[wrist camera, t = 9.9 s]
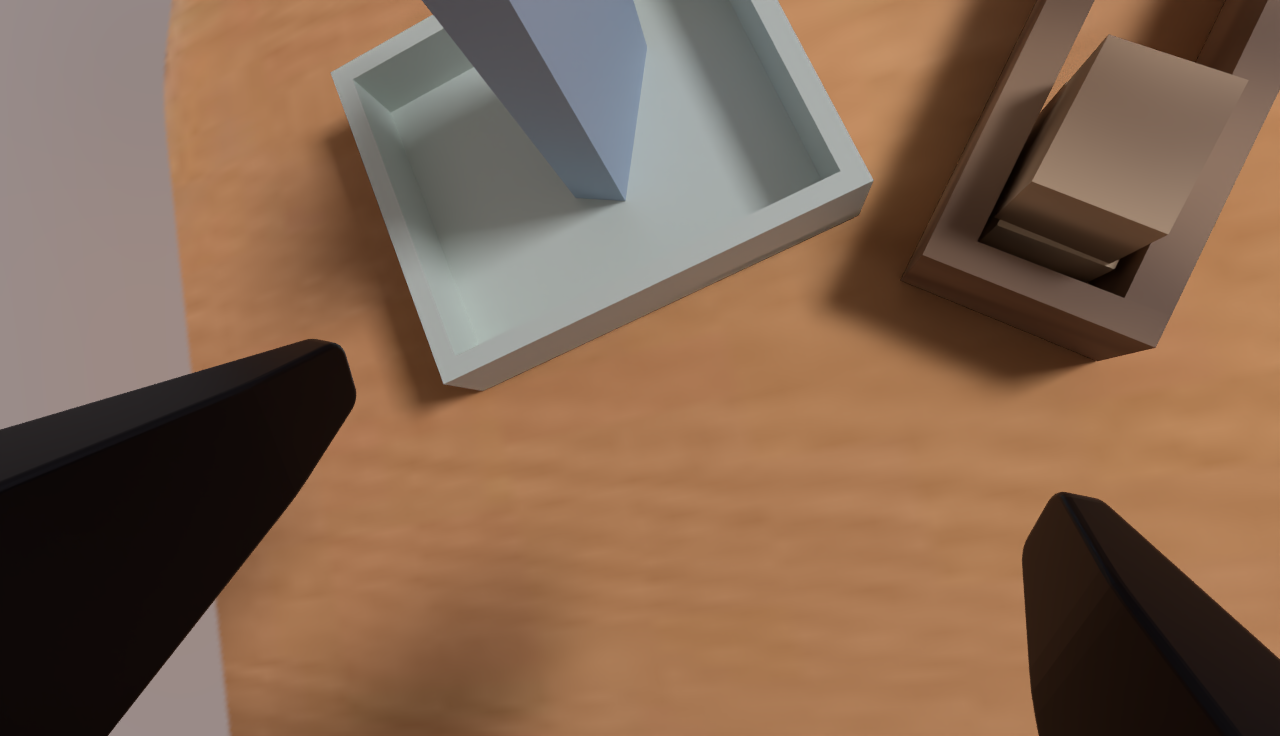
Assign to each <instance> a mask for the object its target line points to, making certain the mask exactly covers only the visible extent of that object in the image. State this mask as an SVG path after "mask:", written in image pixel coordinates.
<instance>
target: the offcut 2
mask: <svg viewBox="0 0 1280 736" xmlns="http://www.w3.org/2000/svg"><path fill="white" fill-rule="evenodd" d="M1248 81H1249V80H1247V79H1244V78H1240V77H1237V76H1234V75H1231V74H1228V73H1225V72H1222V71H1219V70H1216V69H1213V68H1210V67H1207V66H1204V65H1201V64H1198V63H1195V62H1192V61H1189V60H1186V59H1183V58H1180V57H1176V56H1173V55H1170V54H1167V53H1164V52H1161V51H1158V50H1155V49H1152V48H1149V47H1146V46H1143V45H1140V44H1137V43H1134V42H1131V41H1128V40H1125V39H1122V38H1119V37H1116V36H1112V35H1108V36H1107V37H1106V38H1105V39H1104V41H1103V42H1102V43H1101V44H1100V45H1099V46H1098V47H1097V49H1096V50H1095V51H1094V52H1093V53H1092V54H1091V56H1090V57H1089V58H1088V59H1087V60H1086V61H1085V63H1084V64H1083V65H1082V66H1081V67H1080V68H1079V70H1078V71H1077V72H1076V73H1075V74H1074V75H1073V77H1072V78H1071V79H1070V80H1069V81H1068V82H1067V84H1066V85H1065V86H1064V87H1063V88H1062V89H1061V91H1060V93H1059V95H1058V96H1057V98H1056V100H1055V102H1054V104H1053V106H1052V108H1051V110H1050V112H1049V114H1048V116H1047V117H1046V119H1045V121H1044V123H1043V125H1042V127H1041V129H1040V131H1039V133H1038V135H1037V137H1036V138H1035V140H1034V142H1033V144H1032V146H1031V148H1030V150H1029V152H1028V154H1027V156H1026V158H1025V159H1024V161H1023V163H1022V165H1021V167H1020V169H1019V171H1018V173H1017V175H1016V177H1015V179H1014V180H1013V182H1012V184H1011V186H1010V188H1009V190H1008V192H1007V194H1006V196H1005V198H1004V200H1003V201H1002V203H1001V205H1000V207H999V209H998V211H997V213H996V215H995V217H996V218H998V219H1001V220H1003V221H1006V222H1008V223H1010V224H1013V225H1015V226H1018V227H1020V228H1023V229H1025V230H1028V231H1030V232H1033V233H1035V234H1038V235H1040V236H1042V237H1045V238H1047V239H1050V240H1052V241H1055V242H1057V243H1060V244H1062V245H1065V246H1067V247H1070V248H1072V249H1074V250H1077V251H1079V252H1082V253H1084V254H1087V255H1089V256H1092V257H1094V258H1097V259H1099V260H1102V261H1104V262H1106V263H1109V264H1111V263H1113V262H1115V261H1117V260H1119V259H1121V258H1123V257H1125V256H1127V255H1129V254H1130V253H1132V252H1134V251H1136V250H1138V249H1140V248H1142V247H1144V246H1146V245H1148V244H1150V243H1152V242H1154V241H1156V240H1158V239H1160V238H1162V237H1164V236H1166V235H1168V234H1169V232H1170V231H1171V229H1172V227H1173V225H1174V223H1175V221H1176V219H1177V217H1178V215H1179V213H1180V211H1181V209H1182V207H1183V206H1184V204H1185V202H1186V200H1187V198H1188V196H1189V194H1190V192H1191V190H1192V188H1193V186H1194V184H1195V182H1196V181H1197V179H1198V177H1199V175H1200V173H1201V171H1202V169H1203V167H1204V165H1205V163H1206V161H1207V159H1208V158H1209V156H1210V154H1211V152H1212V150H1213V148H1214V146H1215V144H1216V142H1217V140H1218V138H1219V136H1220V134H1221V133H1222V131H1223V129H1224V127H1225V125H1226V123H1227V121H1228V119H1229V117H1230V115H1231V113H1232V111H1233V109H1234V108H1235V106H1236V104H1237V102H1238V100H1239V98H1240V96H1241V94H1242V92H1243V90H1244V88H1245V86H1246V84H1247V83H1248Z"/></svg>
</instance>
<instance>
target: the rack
mask: <svg viewBox="0 0 1280 736" xmlns="http://www.w3.org/2000/svg"><path fill="white" fill-rule="evenodd" d="M1093 2H1094V0H1037V2H1036V4H1035V6H1034V8H1033V10H1032V12H1031V14H1030V16H1029V18H1028V20H1027V22H1026V24H1025V26H1024V28H1023V30H1022V32H1021V34H1020V36H1019V38H1018V41H1017V43H1016V45H1015V47H1014V49H1013V51H1012V53H1011V55H1010V57H1009V59H1008V61H1007V63H1006V65H1005V67H1004V69H1003V71H1002V73H1001V75H1000V77H999V79H998V82H997V84H996V86H995V88H994V90H993V92H992V94H991V96H990V98H989V100H988V102H987V104H986V106H985V108H984V110H983V112H982V114H981V116H980V118H979V120H978V123H977V125H976V127H975V129H974V131H973V133H972V135H971V137H970V139H969V141H968V143H967V145H966V147H965V149H964V151H963V153H962V155H961V157H960V159H959V161H958V163H957V166H956V168H955V170H954V172H953V174H952V176H951V178H950V180H949V182H948V184H947V186H946V188H945V190H944V192H943V194H942V196H941V198H940V200H939V202H938V204H937V207H936V209H935V211H934V213H933V215H932V217H931V219H930V221H929V223H928V225H927V227H926V229H925V231H924V233H923V235H922V237H921V239H920V241H919V243H918V245H917V248H916V250H915V252H914V254H913V256H912V258H911V260H910V262H909V264H908V266H907V268H906V270H905V272H904V274H903V276H902V278H901V281H904V282H906V283H909V284H911V285H914V286H916V287H918V288H921V289H923V290H926V291H928V292H931V293H933V294H935V295H938V296H940V297H943V298H945V299H948V300H950V301H953V302H955V303H957V304H960V305H962V306H965V307H967V308H970V309H972V310H974V311H977V312H979V313H982V314H984V315H987V316H989V317H992V318H994V319H996V320H999V321H1001V322H1004V323H1006V324H1009V325H1011V326H1013V327H1016V328H1018V329H1021V330H1023V331H1026V332H1028V333H1030V334H1033V335H1035V336H1038V337H1040V338H1043V339H1045V340H1048V341H1050V342H1052V343H1055V344H1057V345H1060V346H1062V347H1065V348H1067V349H1069V350H1072V351H1074V352H1077V353H1079V354H1082V355H1084V356H1087V357H1089V358H1091V359H1094V360H1096V361H1100V360H1105V359H1109V358H1113V357H1118V356H1122V355H1126V354H1130V353H1135V352H1139V351H1143V350H1148V349H1152V348H1156V346H1157V344H1158V342H1159V340H1160V337H1161V335H1162V333H1163V331H1164V329H1165V327H1166V325H1167V323H1168V321H1169V319H1170V317H1171V315H1172V312H1173V310H1174V308H1175V306H1176V304H1177V302H1178V300H1179V298H1180V296H1181V294H1182V292H1183V290H1184V287H1185V285H1186V283H1187V281H1188V279H1189V277H1190V275H1191V273H1192V271H1193V269H1194V267H1195V265H1196V262H1197V260H1198V258H1199V256H1200V254H1201V252H1202V250H1203V248H1204V246H1205V244H1206V242H1207V240H1208V238H1209V235H1210V233H1211V231H1212V229H1213V227H1214V225H1215V223H1216V221H1217V219H1218V217H1219V215H1220V213H1221V210H1222V208H1223V206H1224V204H1225V202H1226V200H1227V198H1228V196H1229V194H1230V192H1231V190H1232V188H1233V185H1234V183H1235V181H1236V179H1237V177H1238V175H1239V173H1240V171H1241V169H1242V167H1243V165H1244V163H1245V160H1246V158H1247V156H1248V154H1249V152H1250V150H1251V148H1252V146H1253V144H1254V142H1255V140H1256V138H1257V135H1258V133H1259V131H1260V129H1261V127H1262V125H1263V123H1264V121H1265V119H1266V117H1267V115H1268V113H1269V111H1270V108H1271V106H1272V104H1273V102H1274V100H1275V98H1276V96H1277V94H1278V92H1279V90H1280V0H1226V1H1225V3H1224V5H1223V7H1222V9H1221V11H1220V13H1219V15H1218V17H1217V19H1216V21H1215V23H1214V26H1213V28H1212V30H1211V32H1210V34H1209V36H1208V38H1207V40H1206V42H1205V44H1204V46H1203V48H1202V50H1201V52H1200V55H1199V57H1198V59H1197V61H1196V63H1198V64H1201V65H1204V66H1207V67H1210V68H1213V69H1216V70H1219V71H1222V72H1225V73H1228V74H1231V75H1234V76H1237V77H1240V78H1244V79H1247V80H1249V81H1248V83H1247V84H1246V86H1245V88H1244V90H1243V92H1242V94H1241V96H1240V98H1239V100H1238V102H1237V104H1236V106H1235V108H1234V109H1233V111H1232V113H1231V115H1230V117H1229V119H1228V121H1227V123H1226V125H1225V127H1224V129H1223V131H1222V133H1221V134H1220V136H1219V138H1218V140H1217V142H1216V144H1215V146H1214V148H1213V150H1212V152H1211V154H1210V156H1209V158H1208V159H1207V161H1206V163H1205V165H1204V167H1203V169H1202V171H1201V173H1200V175H1199V177H1198V179H1197V181H1196V182H1195V184H1194V186H1193V188H1192V190H1191V192H1190V194H1189V196H1188V198H1187V200H1186V202H1185V204H1184V206H1183V207H1182V209H1181V211H1180V213H1179V215H1178V217H1177V219H1176V221H1175V223H1174V225H1173V227H1172V229H1171V231H1170V232H1169V234H1168V235H1166V236H1164V237H1162V238H1160V239H1158V240H1156V241H1154V242H1152V243H1150V244H1148V245H1146V246H1144V247H1142V248H1140V249H1138V250H1136V251H1134V252H1132V253H1130V254H1129V255H1127V256H1125V257H1123V258H1121V259H1119V261H1118V263H1117V265H1116V267H1115V269H1114V270H1112V271H1110V272H1108V273H1106V274H1104V275H1102V276H1100V277H1097V278H1095V279H1093V280H1091V281H1090V282H1089V284H1087V283H1084V282H1081V281H1079V280H1076V279H1074V278H1071V277H1068V276H1066V275H1063V274H1061V273H1058V272H1055V271H1053V270H1050V269H1048V268H1045V267H1042V266H1040V265H1037V264H1035V263H1032V262H1029V261H1027V260H1024V259H1022V258H1019V257H1016V256H1014V255H1011V254H1009V253H1006V252H1004V251H1001V250H998V249H996V248H993V247H991V246H988V245H985V244H983V243H980V242H978V239H979V237H980V235H981V233H982V230H983V228H984V226H985V224H986V222H987V220H988V218H989V216H990V214H991V212H992V210H993V208H994V206H995V204H996V202H997V200H998V198H999V196H1000V193H1001V191H1002V189H1003V187H1004V185H1005V183H1006V181H1007V179H1008V177H1009V175H1010V173H1011V171H1012V169H1013V167H1014V165H1015V163H1016V161H1017V159H1018V156H1019V154H1020V152H1021V150H1022V148H1023V146H1024V144H1025V142H1026V140H1027V138H1028V136H1029V134H1030V132H1031V130H1032V128H1033V126H1034V124H1035V122H1036V119H1037V117H1038V115H1039V113H1040V111H1041V109H1042V107H1043V105H1044V103H1045V101H1046V99H1047V97H1048V95H1049V93H1050V91H1051V89H1052V87H1053V85H1054V82H1055V80H1056V78H1057V76H1058V74H1059V72H1060V70H1061V68H1062V66H1063V64H1064V62H1065V60H1066V58H1067V56H1068V54H1069V52H1070V50H1071V48H1072V45H1073V43H1074V41H1075V39H1076V37H1077V35H1078V33H1079V31H1080V29H1081V27H1082V25H1083V23H1084V21H1085V19H1086V17H1087V15H1088V13H1089V10H1090V8H1091V6H1092V4H1093Z"/></svg>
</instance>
